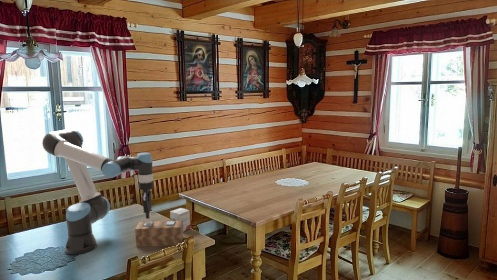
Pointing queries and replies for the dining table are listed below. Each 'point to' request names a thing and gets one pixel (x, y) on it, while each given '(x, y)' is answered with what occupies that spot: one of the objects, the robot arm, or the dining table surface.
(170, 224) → the peg
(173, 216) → the ink box
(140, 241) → the socket block
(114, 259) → the dining table surface
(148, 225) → the peg
